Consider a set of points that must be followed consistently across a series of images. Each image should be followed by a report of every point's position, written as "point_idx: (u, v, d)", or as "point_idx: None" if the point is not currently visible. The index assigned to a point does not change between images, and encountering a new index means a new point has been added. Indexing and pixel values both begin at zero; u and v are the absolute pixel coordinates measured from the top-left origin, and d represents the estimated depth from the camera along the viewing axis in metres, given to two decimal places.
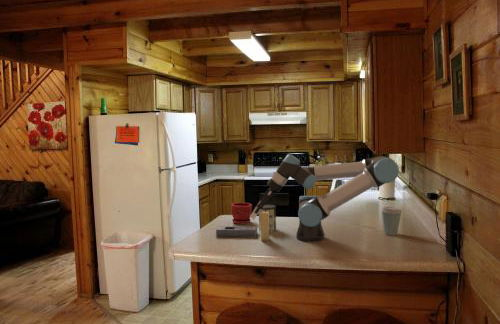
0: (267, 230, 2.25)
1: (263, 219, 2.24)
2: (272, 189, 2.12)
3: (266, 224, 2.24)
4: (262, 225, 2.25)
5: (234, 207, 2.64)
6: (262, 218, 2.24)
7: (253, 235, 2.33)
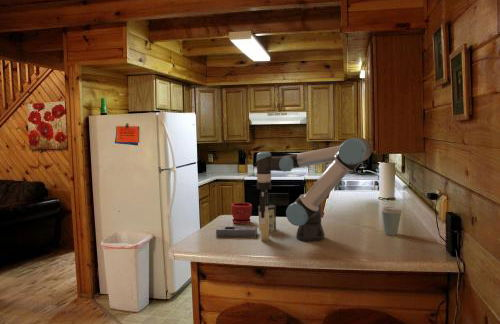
0: (267, 230, 2.25)
1: None
2: (263, 189, 2.21)
3: (266, 224, 2.24)
4: (262, 225, 2.25)
5: (234, 207, 2.64)
6: None
7: (253, 235, 2.33)
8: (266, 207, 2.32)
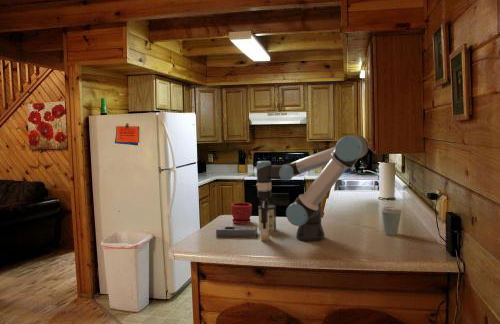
0: (267, 230, 2.25)
1: None
2: (264, 198, 2.22)
3: None
4: None
5: (234, 207, 2.64)
6: None
7: (253, 235, 2.33)
8: None
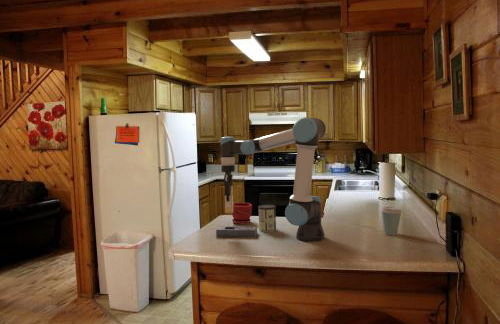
0: None
1: None
2: (227, 172, 2.32)
3: None
4: None
5: (234, 207, 2.64)
6: None
7: (253, 235, 2.33)
8: None
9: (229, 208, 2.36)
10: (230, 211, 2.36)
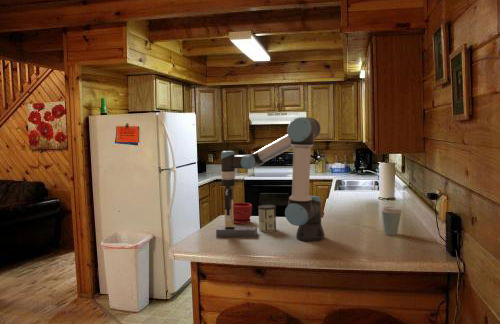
0: (231, 217, 2.36)
1: None
2: (227, 186, 2.33)
3: None
4: None
5: (234, 207, 2.64)
6: None
7: (253, 235, 2.33)
8: None
9: (229, 222, 2.36)
10: (230, 225, 2.37)
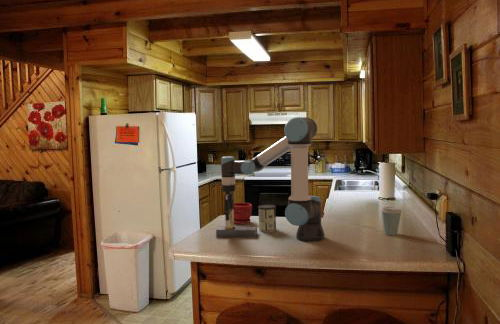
0: (231, 226, 2.37)
1: None
2: (227, 192, 2.33)
3: (230, 220, 2.36)
4: None
5: (234, 207, 2.64)
6: None
7: (253, 235, 2.33)
8: None
9: None
10: None
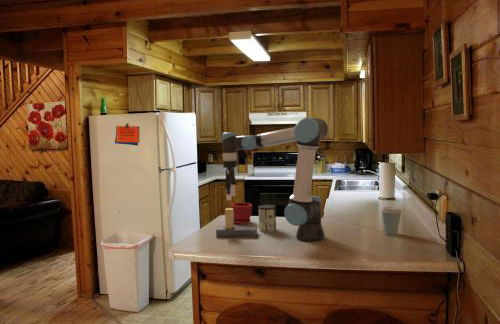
0: (231, 226, 2.37)
1: (227, 215, 2.36)
2: (229, 168, 2.33)
3: (230, 220, 2.36)
4: (226, 221, 2.37)
5: (234, 207, 2.64)
6: (226, 214, 2.36)
7: (253, 235, 2.33)
8: (233, 185, 2.43)
9: None
10: None
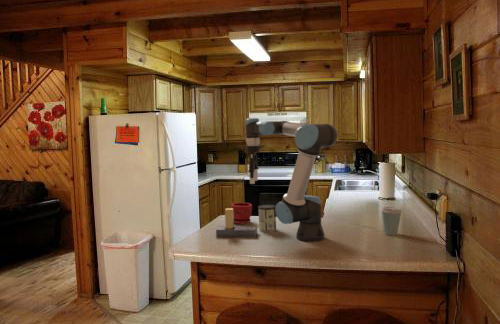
0: (231, 226, 2.37)
1: (227, 215, 2.36)
2: (252, 152, 2.39)
3: (230, 220, 2.36)
4: (226, 221, 2.37)
5: (234, 207, 2.64)
6: (226, 214, 2.36)
7: (253, 235, 2.33)
8: (256, 170, 2.50)
9: None
10: None
